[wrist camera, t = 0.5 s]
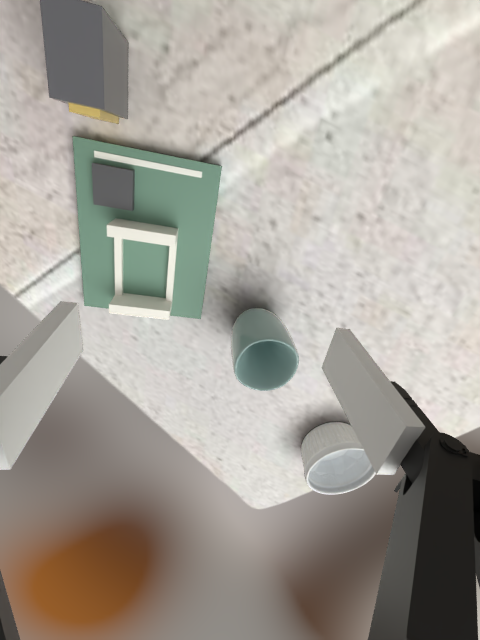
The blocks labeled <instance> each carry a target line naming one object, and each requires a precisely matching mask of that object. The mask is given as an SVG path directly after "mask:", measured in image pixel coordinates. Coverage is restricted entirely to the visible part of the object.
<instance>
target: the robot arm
mask: <svg viewBox="0 0 480 640" xmlns="http://www.w3.org/2000/svg"><path fill="white" fill-rule="evenodd" d="M82 352H83V342H82V333H81V324H80V315H79V307H78V303H72V302H62V301H61V302H60V303H59V304H58V305H57V306H56V307H55V308H54V309H53V310H52V311H51V312H50V313H49V314H48V315H47V316H46V317H45V318H44V319H43V320H42V321H41V322H40V324H39V325H38V326H37V327H36V328H35V329H34V330H33V331H32V332H31V333H30V334H29V335H28V336H27V337H26V338H25V339H24V340H23V341H22V342H21V343H20V344H19V345H18V346H17V348H16V349H15V350H14V351H13V352H12V353H11V354H10V355H9V356H0V469H1V470H10V469H11V468H12V466H13V464H14V463H15V461H16V459H17V458H18V456H19V455H20V453H21V451H22V450H23V448H24V446H25V445H26V443H27V441H28V440H29V438H30V437H31V435H32V433H33V432H34V430H35V428H36V427H37V425H38V424H39V422H40V420H41V419H42V417H43V415H44V414H45V412H46V410H47V409H48V407H49V406H50V404H51V402H52V401H53V399H54V397H55V396H56V394H57V393H58V391H59V389H60V388H61V386H62V385H63V383H64V381H65V380H66V378H67V376H68V375H69V373H70V372H71V370H72V368H73V367H74V365H75V363H76V362H77V360H78V358H79V357H80V355H81V354H82ZM322 369H323V371H324V373H325V375H326V377H327V379H328V381H329V383H330V385H331V387H332V389H333V391H334V393H335V395H336V397H337V399H338V400H339V402H340V404H341V406H342V408H343V410H344V412H345V414H346V416H347V418H348V420H349V422H350V424H351V426H352V428H353V430H354V432H355V434H356V436H357V437H358V439H359V441H360V443H361V445H362V447H363V449H364V451H365V453H366V455H367V457H368V459H369V461H370V463H371V465H372V467H373V469H374V471H375V472H376V474H385V475H394V474H395V472H396V471H397V469H398V468H399V466H400V465H401V466H402V468H403V469H404V471H405V473H406V474H405V475H404V477H403V478H402V480H401V481H400V482H399V484H398V485H397V487H396V488H395V490H394V491H395V492H397V491H398V490H399V489H400V491H399V496H398V500H397V505H396V510H395V514H394V519H393V524H392V529H391V533H390V538H389V543H388V547H387V552H386V557H385V562H384V566H383V571H382V576H381V581H380V585H379V590H378V595H377V600H376V604H375V609H374V614H373V618H372V623H371V628H370V633H369V637H368V640H478V626H477V599H476V576H477V579H478V583H479V586H480V455H478V454H475V453H471V452H469V450H468V449H467V448H466V446H464V445H463V444H462V443H461V442H460V441H459V440H457V439H456V438H454V437H452V436H450V435H448V434H445V433H440V432H439V431H438V430H437V429H436V428H435V426H434V425H433V424H432V423H431V421H430V420H429V419H428V418H427V417H426V415H425V414H424V413H423V412H422V410H421V409H420V408H419V407H418V405H417V404H416V403H415V402H414V400H412V398H411V397H410V396H409V394H408V393H407V392H406V391H405V390H404V389H403V388H402V387H401V386H399V385H398V384H397V383H396V382H390V381H389V379H388V378H387V377H386V376H385V374H384V373H383V372H382V370H381V369H380V368H379V366H378V365H377V364H376V363H375V361H374V360H373V359H372V357H371V356H370V355H369V354H368V352H367V351H366V350H365V348H364V347H363V346H362V345H361V343H360V342H359V341H358V339H357V338H356V337H355V336H354V334H353V333H352V332H351V330H350V329H343V328H336V330H335V333H334V336H333V339H332V341H331V344H330V347H329V349H328V352H327V355H326V357H325V360H324V363H323V365H322ZM0 640H20V637H19V634H18V630H17V627H16V623H15V620H14V617H13V613H12V610H11V606H10V603H9V599H8V595H7V592H6V589H5V585H4V582H3V578H2V575H1V571H0Z"/></svg>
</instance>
